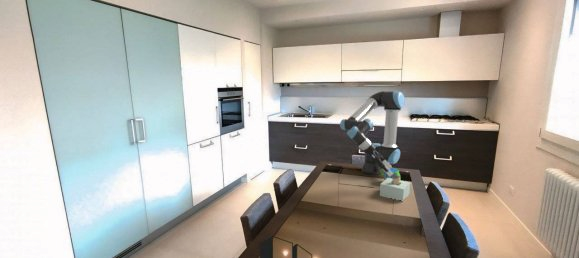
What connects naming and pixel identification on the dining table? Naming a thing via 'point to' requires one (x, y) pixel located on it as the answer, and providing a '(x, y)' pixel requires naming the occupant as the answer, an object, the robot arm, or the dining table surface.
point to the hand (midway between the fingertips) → (390, 171)
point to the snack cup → (394, 171)
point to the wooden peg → (396, 179)
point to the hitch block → (394, 189)
